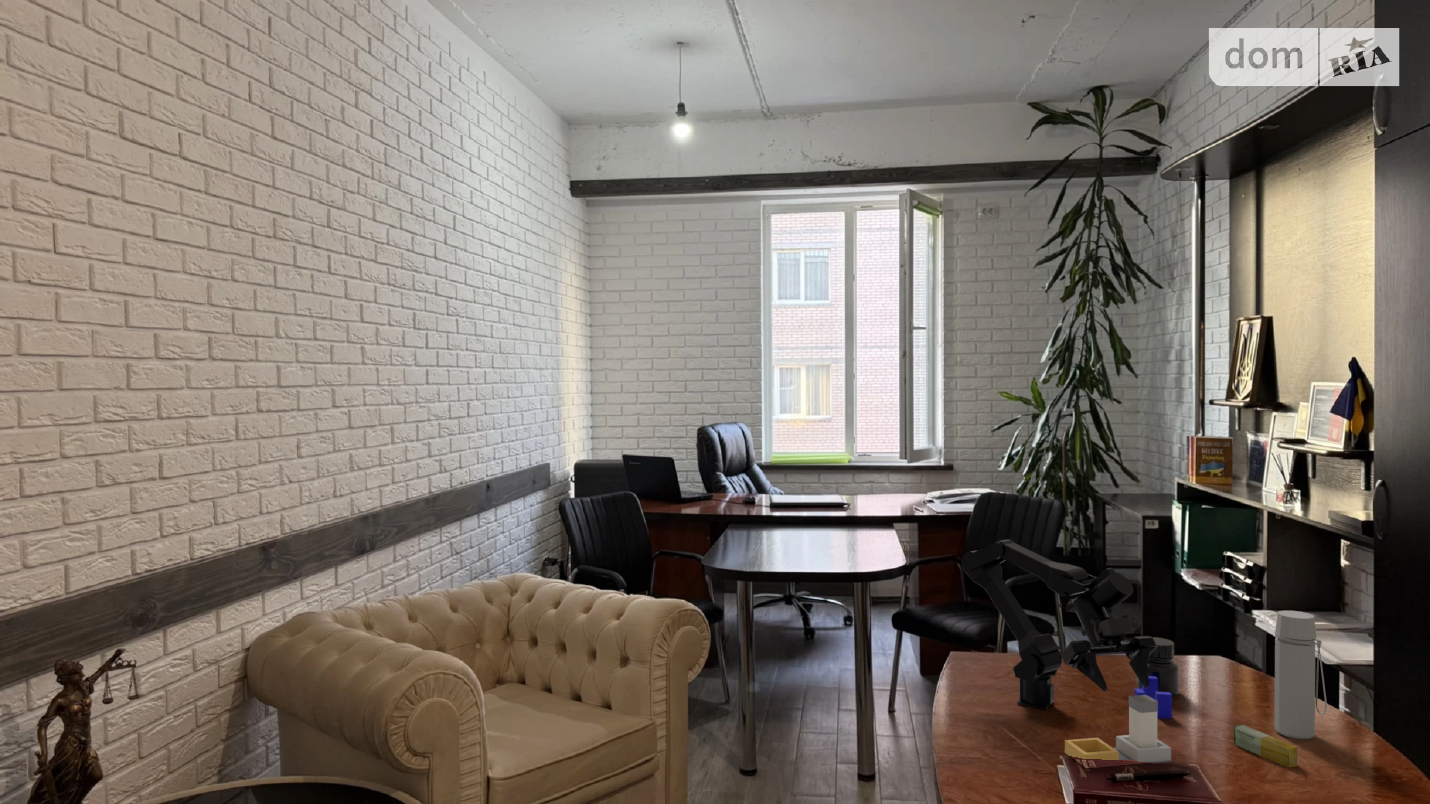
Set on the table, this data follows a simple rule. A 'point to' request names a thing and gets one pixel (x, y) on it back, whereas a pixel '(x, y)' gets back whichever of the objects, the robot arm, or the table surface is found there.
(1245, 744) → the medication box
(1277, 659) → the water bottle
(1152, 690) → the cable clip
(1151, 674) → the ink bottle
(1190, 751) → the table surface
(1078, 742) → the socket board
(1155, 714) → the white plug
